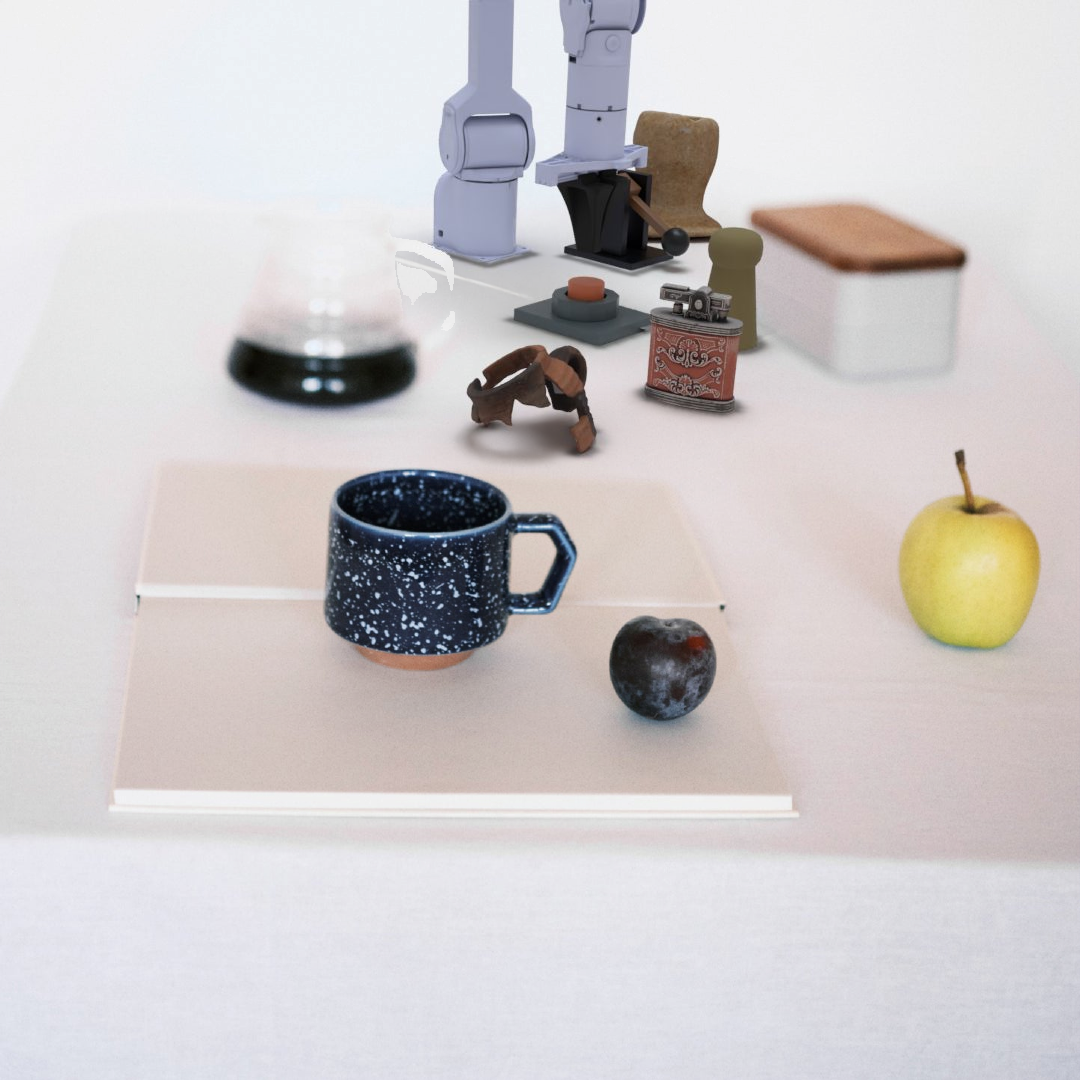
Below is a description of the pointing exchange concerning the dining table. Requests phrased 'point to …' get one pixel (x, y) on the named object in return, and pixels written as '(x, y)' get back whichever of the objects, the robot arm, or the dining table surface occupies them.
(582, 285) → the button
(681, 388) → the lighter
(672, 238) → the lever
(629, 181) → the bracket
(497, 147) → the robot arm
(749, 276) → the cork
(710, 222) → the tan piece
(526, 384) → the brown curved pieces
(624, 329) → the button block
